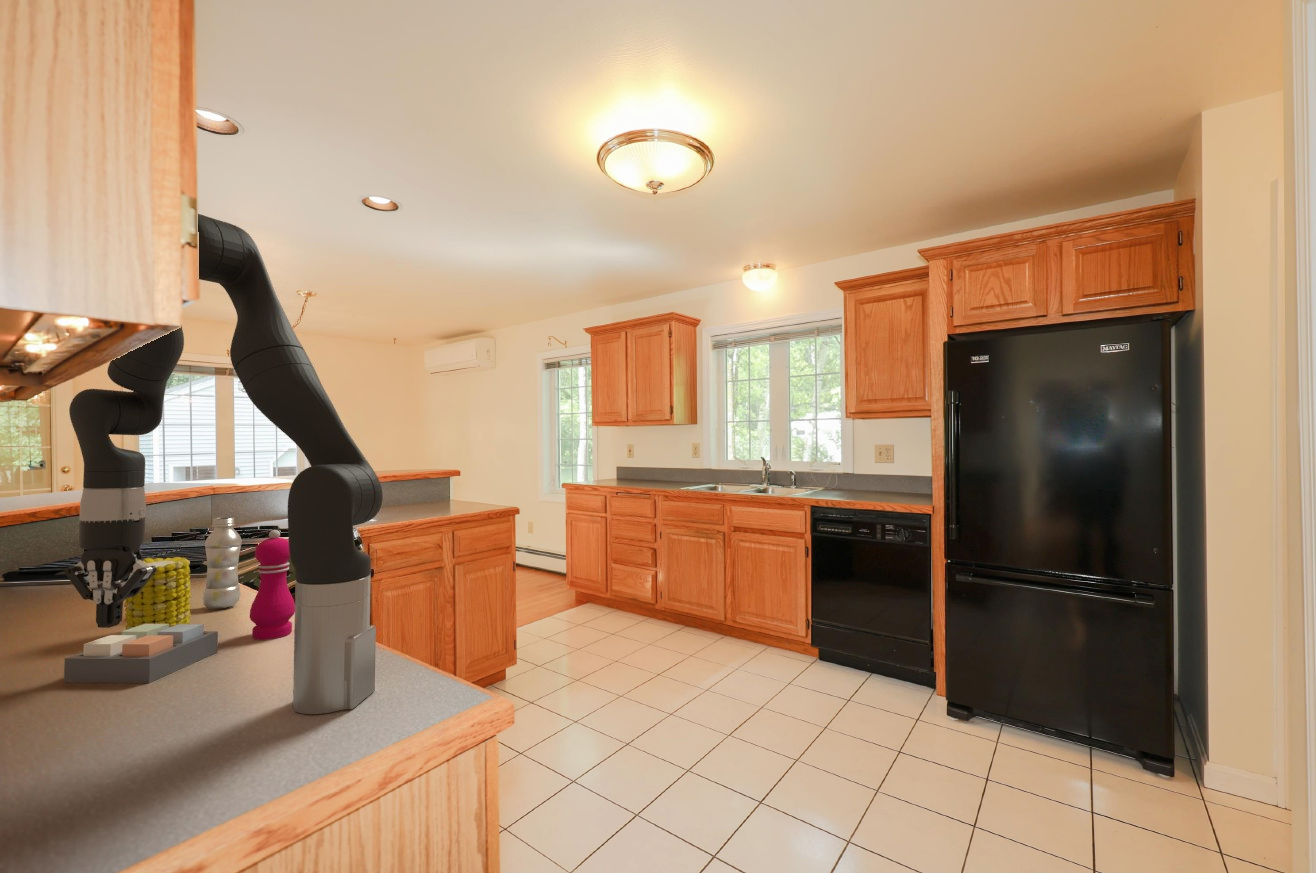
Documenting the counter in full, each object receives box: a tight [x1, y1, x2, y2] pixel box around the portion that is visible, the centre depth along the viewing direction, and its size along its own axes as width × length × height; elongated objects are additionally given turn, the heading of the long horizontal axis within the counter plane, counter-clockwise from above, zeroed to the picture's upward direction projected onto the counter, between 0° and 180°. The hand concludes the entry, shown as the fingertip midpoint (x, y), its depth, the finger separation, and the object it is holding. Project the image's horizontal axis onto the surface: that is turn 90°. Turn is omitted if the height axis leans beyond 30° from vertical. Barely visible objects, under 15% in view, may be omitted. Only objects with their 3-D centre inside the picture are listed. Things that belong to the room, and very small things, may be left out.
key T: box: [122, 635, 173, 656], centre depth 88 cm, size 4×4×3 cm
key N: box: [83, 634, 136, 656], centre depth 88 cm, size 4×4×3 cm
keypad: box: [63, 630, 219, 684], centre depth 91 cm, size 13×13×4 cm
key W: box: [120, 624, 169, 639], centre depth 94 cm, size 4×4×3 cm
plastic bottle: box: [202, 517, 243, 610], centre depth 126 cm, size 6×7×20 cm
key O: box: [157, 623, 205, 643], centre depth 94 cm, size 4×4×3 cm
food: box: [123, 556, 192, 630], centre depth 108 cm, size 15×12×10 cm
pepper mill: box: [249, 529, 295, 641], centre depth 107 cm, size 7×7×20 cm
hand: (109, 626), depth 88 cm, fingers closed
